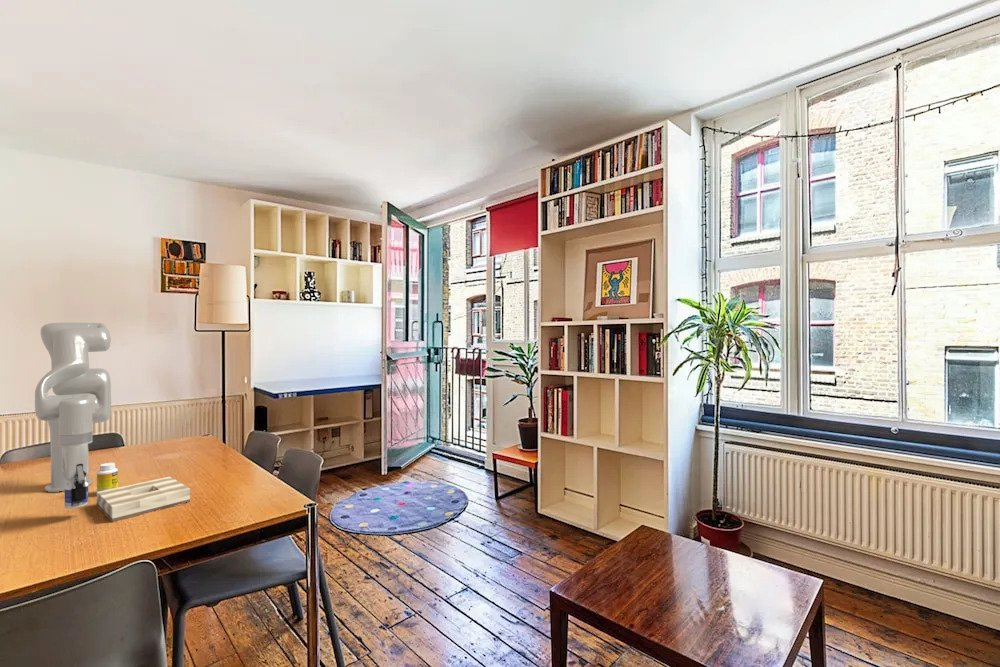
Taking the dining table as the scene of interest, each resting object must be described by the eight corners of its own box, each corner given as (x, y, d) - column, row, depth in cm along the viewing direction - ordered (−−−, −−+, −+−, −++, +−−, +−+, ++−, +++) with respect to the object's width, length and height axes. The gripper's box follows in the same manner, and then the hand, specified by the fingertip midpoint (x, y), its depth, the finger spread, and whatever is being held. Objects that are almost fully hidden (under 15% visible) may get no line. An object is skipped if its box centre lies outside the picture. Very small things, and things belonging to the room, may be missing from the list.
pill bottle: (73, 510, 137) (73, 480, 136) (59, 508, 138) (59, 478, 137) (92, 503, 142) (92, 474, 142) (79, 501, 143) (79, 473, 143)
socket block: (96, 505, 149) (96, 492, 149) (170, 489, 164) (169, 476, 164) (112, 522, 136) (112, 506, 136) (190, 502, 152) (190, 488, 152)
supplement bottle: (113, 495, 159) (113, 465, 158) (93, 497, 157) (93, 467, 157) (120, 489, 164) (120, 461, 164) (101, 491, 162) (101, 462, 162)
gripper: (53, 436, 141) (54, 494, 142) (64, 446, 131) (65, 509, 131) (86, 431, 147) (86, 487, 148) (98, 441, 137) (99, 501, 137)
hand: (76, 497), depth 140 cm, fingers closed on pill bottle, 5 cm apart
